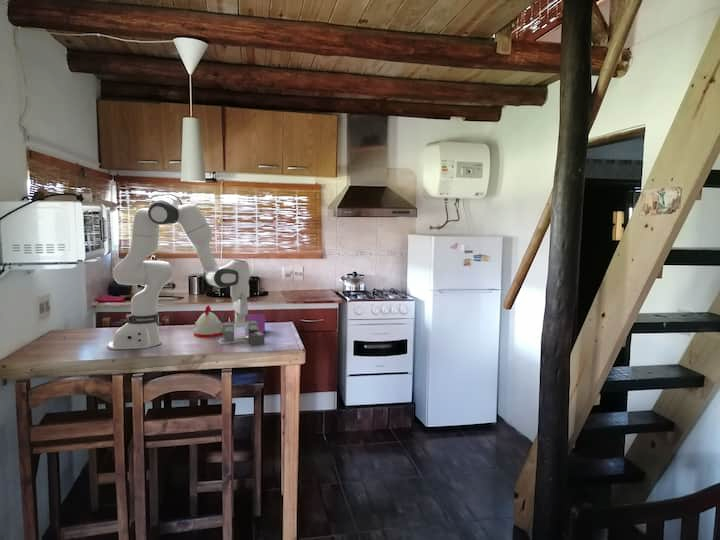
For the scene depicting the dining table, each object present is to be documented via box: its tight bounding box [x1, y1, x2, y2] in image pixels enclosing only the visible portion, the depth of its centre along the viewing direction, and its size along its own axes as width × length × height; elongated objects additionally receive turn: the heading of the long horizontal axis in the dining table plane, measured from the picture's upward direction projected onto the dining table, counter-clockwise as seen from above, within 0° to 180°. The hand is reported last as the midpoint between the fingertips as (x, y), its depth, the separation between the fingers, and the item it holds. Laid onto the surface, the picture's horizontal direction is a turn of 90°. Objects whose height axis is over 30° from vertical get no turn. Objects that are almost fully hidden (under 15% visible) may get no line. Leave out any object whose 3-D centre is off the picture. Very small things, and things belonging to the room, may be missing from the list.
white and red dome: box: [193, 305, 222, 339], centre depth 246 cm, size 14×14×15 cm
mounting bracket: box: [244, 313, 266, 335], centre depth 251 cm, size 9×8×18 cm
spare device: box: [247, 332, 265, 347], centre depth 229 cm, size 6×5×5 cm
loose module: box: [234, 310, 246, 328], centre depth 233 cm, size 5×4×7 cm
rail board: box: [217, 320, 258, 345], centre depth 234 cm, size 20×7×9 cm, turn 116°
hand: (239, 321), depth 233 cm, fingers closed on loose module, 5 cm apart
